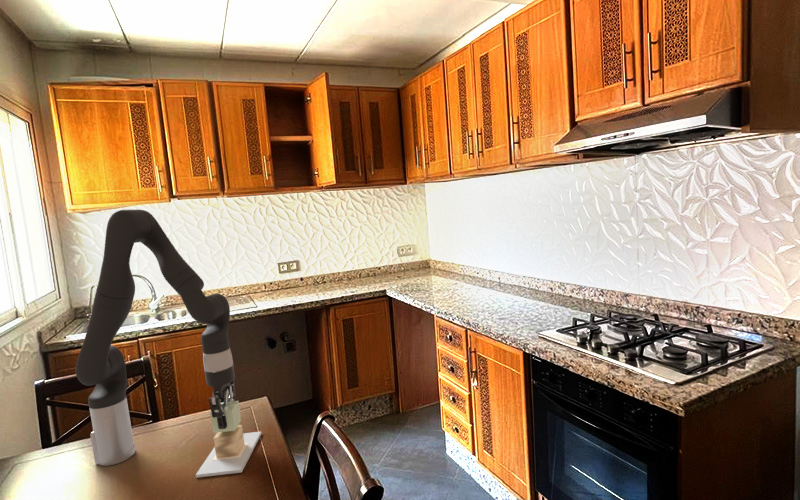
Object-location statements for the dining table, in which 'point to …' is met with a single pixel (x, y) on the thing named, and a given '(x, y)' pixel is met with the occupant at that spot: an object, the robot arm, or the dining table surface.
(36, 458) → the dining table surface
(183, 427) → the dining table surface
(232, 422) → the sage block
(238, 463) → the white rectangular board
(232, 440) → the maple block
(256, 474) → the dining table surface
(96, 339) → the robot arm
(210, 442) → the dining table surface
